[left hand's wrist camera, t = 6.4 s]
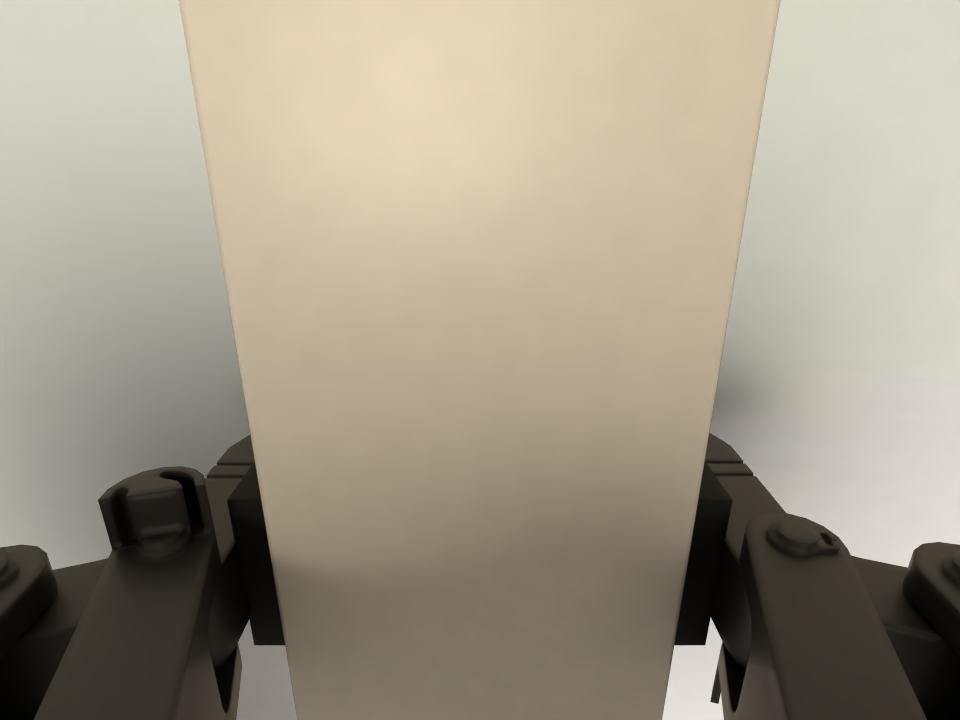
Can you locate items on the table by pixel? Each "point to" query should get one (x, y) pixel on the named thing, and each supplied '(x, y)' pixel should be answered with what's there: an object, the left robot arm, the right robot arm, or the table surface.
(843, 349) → the table surface
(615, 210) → the bar
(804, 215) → the table surface
